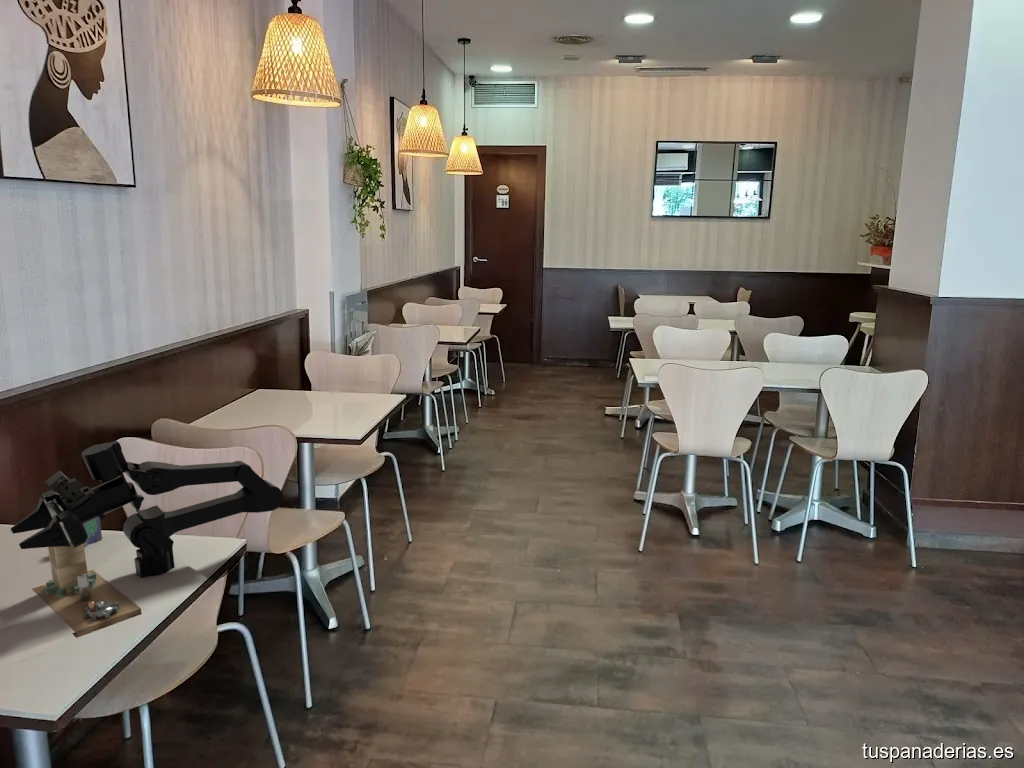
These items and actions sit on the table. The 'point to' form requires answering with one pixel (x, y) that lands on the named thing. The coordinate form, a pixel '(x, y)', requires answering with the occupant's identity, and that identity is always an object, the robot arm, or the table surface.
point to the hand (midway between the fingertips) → (15, 538)
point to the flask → (93, 531)
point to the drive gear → (100, 610)
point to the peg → (84, 587)
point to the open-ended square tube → (67, 569)
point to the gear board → (73, 607)
